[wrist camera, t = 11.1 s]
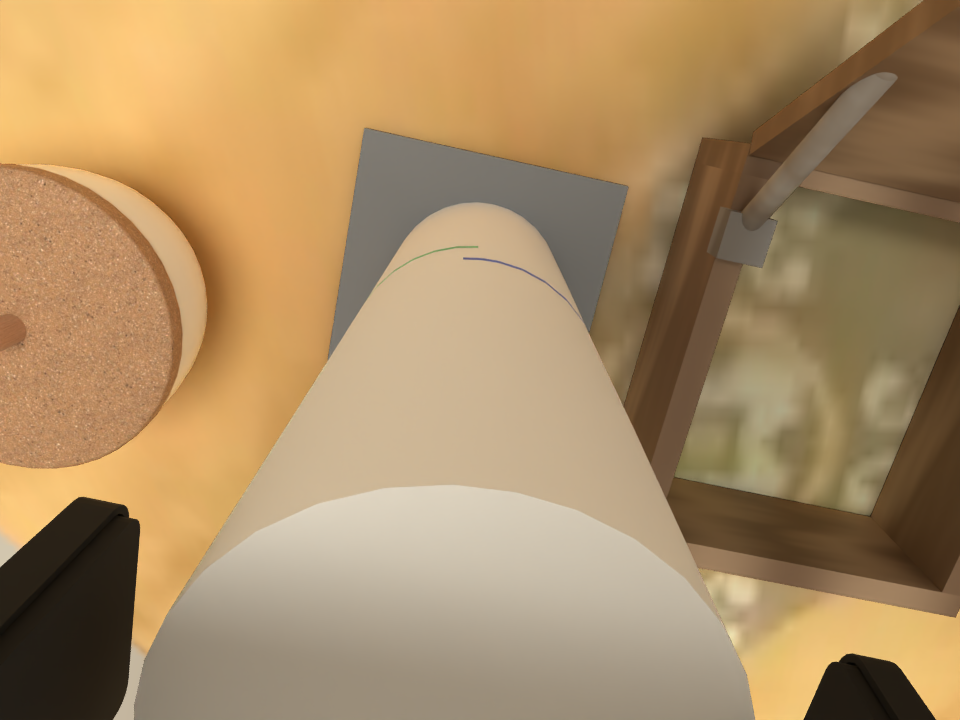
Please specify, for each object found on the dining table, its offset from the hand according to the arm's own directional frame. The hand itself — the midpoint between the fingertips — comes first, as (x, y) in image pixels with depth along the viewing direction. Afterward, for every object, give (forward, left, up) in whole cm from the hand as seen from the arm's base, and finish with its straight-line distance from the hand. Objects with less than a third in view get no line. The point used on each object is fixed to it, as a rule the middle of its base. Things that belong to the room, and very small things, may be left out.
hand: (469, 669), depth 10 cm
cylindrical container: (0, 0, -24) cm, 24 cm away
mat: (+1, 0, -24) cm, 24 cm away
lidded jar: (+15, +3, -24) cm, 29 cm away
